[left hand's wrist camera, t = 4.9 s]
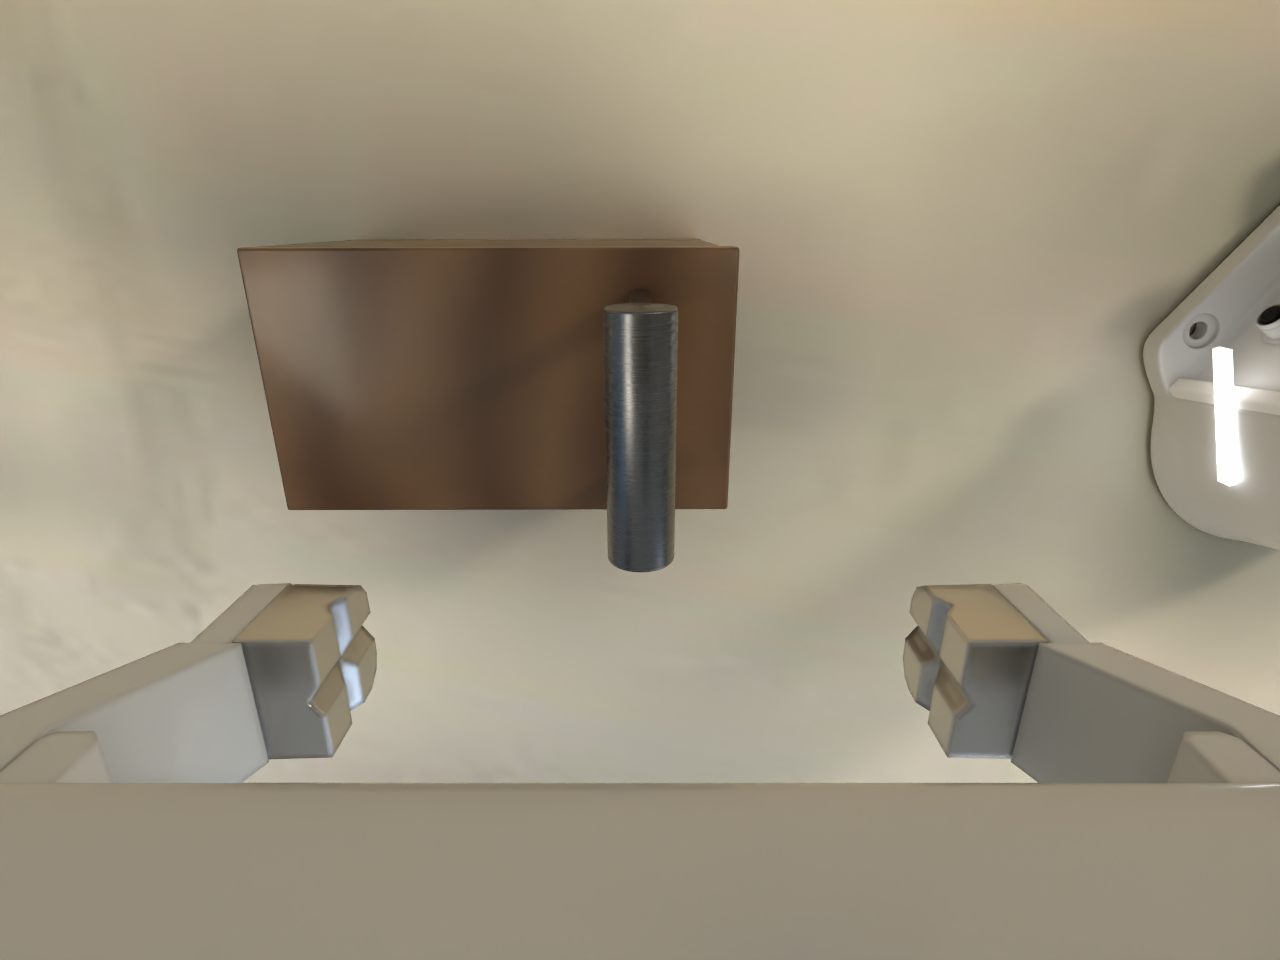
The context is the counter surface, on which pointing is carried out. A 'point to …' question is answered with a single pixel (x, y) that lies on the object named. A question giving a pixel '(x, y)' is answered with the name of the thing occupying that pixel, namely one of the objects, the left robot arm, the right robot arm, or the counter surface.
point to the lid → (502, 380)
